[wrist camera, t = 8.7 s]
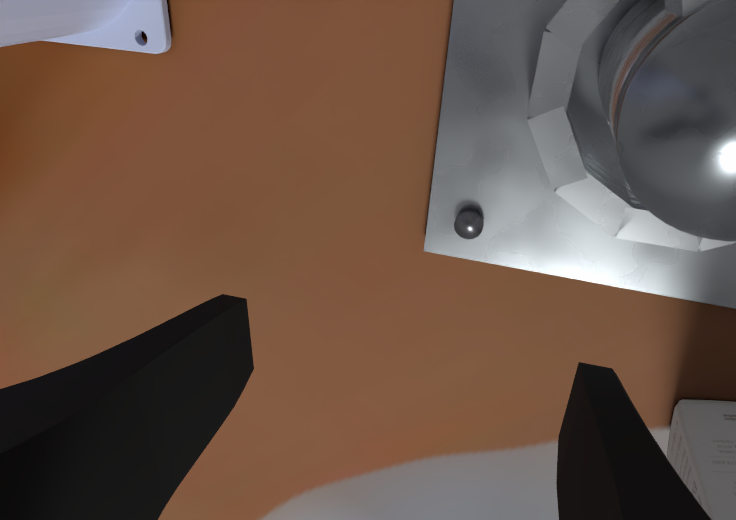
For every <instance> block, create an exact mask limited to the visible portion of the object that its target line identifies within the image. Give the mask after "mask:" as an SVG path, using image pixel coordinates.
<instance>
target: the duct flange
mask: <svg viewBox="0 0 736 520" xmlns="http://www.w3.org/2000/svg"><path fill="white" fill-rule="evenodd" d="M639 1H640V0H454V4H453V12H452V21H451V29H450V37H449V46H448V54H447V62H446V71H445V79H444V87H443V96H442V104H441V112H440V121H439V129H438V137H437V146H436V154H435V163H434V171H433V179H432V188H431V196H430V204H429V213H428V221H427V229H426V238H425V246H424V251H427V252H432V253H437V254H443V255H448V256H454V257H459V258H464V259H470V260H475V261H481V262H486V263H491V264H497V265H502V266H508V267H513V268H518V269H524V270H529V271H535V272H540V273H545V274H551V275H556V276H562V277H567V278H572V279H578V280H583V281H589V282H594V283H599V284H605V285H610V286H616V287H621V288H626V289H632V290H637V291H643V292H648V293H653V294H659V295H664V296H670V297H675V298H680V299H686V300H691V301H696V302H702V303H707V304H713V305H718V306H723V307H729V308H734V309H736V241H720V240H711V239H707V238H702V237H698V236H694V235H691V234H688V233H685V232H682V231H680V230H678V229H676V228H674V227H672V226H670V225H668V224H666V223H664V222H663V221H661V220H660V219H658V218H657V217H655V216H654V215H653V214H652V213H651V212H649V211H648V210H647V209H646V208H645V207H644V206H643V205H642V204H641V203H640V201H639V200H638V199H637V198H636V196H635V195H634V194H633V192H632V190H631V189H630V187H629V185H628V184H627V182H626V179H625V177H624V174H623V171H622V169H621V166H620V163H619V160H618V157H617V153H616V148H615V144H614V138H613V135H612V132H611V129H610V127H609V124H608V121H607V118H606V115H605V112H604V109H603V107H602V104H601V100H600V96H599V90H598V71H599V66H600V60H601V57H602V54H603V51H604V48H605V46H606V44H607V41H608V39H609V37H610V35H611V34H612V32H613V31H614V29H615V27H616V26H617V24H618V23H619V22H620V21H621V19H622V18H623V17H624V16H625V14H626V13H627V12H628V11H629V10H630V9H631V8H632V7H633V6H634V5H635V4H637V3H638V2H639Z"/></svg>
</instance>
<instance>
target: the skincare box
mask: <svg viewBox="0 0 736 520" xmlns="http://www.w3.org/2000/svg"><path fill="white" fill-rule="evenodd" d="M667 459H668V461H669V462H670V464H671V465H672V467H673V468H674V469H675V471H676V472H677V474H678V475H679V477H680V478H681V479H682V481H683V482H684V484H685V485H686V486H687V488H688V489H689V490H690V492H691V493H692V494H693V496H694V497H695V499H696V500H697V501H698V503H699V504H700V505H701V507H702V508H703V509H704V511H705V512H706V513H707V514H708V516H709V517H710V518H711V520H736V402H729V401H715V400H684V399H683V400H679V402H678V404H677V405H676V406H675V408H674V413H673V417H672V423H671V429H670V435H669V442H668V451H667Z"/></svg>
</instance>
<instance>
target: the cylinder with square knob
mask: <svg viewBox="0 0 736 520" xmlns="http://www.w3.org/2000/svg"><path fill="white" fill-rule="evenodd" d="M598 90H599V96H600V100H601V104H602V107H603V109H604V112H605V115H606V118H607V121H608V124H609V127H610V129H611V132H612V135H613V138H614V144H615V148H616V153H617V157H618V160H619V163H620V166H621V169H622V171H623V174H624V177H625V179H626V182H627V184H628V185H629V187H630V189H631V190H632V192H633V194H634V195H635V196H636V198H637V199H638V200H639V201H640V203H641V204H642V205H643V206H644V207H645V208H646V209H647V210H648V211H649V212H651V213H652V214H653V215H654V216H655V217H657V218H658V219H660V220H661V221H663V222H664V223H666V224H668V225H670V226H672V227H674V228H676V229H678V230H680V231H682V232H685V233H688V234H691V235H694V236H698V237H702V238H707V239H711V240H720V241H736V0H640V1H639V2H638V3H637V4H635V5H634V6H633V7H632V8H631V9H630V10H629V11H628V12H627V13H626V14H625V16H624V17H623V18H622V19H621V21H620V22H619V23H618V24H617V26H616V27H615V29H614V31H613V32H612V34H611V35H610V37H609V39H608V41H607V44H606V46H605V48H604V51H603V54H602V57H601V60H600V66H599V71H598Z"/></svg>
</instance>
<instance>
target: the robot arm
mask: <svg viewBox="0 0 736 520" xmlns="http://www.w3.org/2000/svg"><path fill="white" fill-rule="evenodd" d="M142 31H144V33H145V34H146V36H147V38H148V39H147V43H145V42H144V40H143V39H142ZM39 40H43V41H51V42H60V43H68V44H77V45H86V46H94V47H103V48H111V49H120V50H128V51H137V52H145V53H154V54H158V53H163V52H166V51H167V50H169V48H170V46H171V33H170V24H169V16H168V8H167V0H0V47H2V46H8V45H14V44H21V43H27V42H33V41H39ZM253 369H254V366H253V356H252V347H251V337H250V328H249V318H248V309H247V300H246V299H245V298H239V297H234V296H229V295H224V294H222V295H220V296H217V297H215V298H213V299H211V300H208V301H206V302H204V303H202V304H200V305H198V306H196V307H194V308H192V309H190V310H188V311H186V312H184V313H182V314H180V315H178V316H176V317H174V318H172V319H170V320H168V321H166V322H164V323H162V324H160V325H158V326H156V327H154V328H152V329H150V330H148V331H146V332H144V333H142V334H140V335H138V336H136V337H134V338H132V339H130V340H127V341H125V342H123V343H121V344H119V345H116V346H114V347H112V348H110V349H108V350H105V351H103V352H101V353H99V354H97V355H94V356H92V357H90V358H87V359H85V360H83V361H80V362H78V363H75V364H73V365H70V366H68V367H65V368H62V369H59V370H57V371H54V372H51V373H49V374H46V375H43V376H40V377H38V378H35V379H32V380H29V381H25V382H22V383H19V384H16V385H12V386H9V387H6V388H3V389H0V520H158V518H159V516H160V515H161V513H162V511H163V509H164V507H165V506H166V504H167V503H168V501H169V500H170V498H171V496H172V495H173V493H174V492H175V490H176V489H177V487H178V486H179V484H180V483H181V482H182V480H183V479H184V477H185V476H186V475H187V473H188V472H189V470H190V469H191V467H192V466H193V465H194V463H195V462H196V460H197V459H198V458H199V456H200V455H201V453H202V452H203V451H204V449H205V448H206V446H207V445H208V444H209V442H210V441H211V439H212V438H213V437H214V435H215V434H216V432H217V431H218V429H219V428H220V427H221V425H222V424H223V422H224V421H225V419H226V418H227V416H228V415H229V414H230V412H231V411H232V409H233V408H234V406H235V404H236V402H237V401H238V399H239V397H240V395H241V393H242V391H243V390H244V388H245V386H246V383H247V381H248V379H249V377H250V375H251V373H252V371H253ZM557 497H558V511H559V520H711V518H710V517H709V516H708V514H707V513H706V512H705V511H704V509H703V508H702V507H701V505H700V504H699V503H698V501H697V500H696V499H695V497H694V496H693V494H692V493H691V492H690V490H689V489H688V488H687V486H686V485H685V484H684V482H683V481H682V479H681V478H680V477H679V475H678V474H677V472H676V471H675V469H674V468H673V467H672V465H671V464H670V462H669V461H668V459H667V458H666V456H665V455H664V453H663V452H662V450H661V449H660V447H659V445H658V444H657V442H656V441H655V439H654V438H653V436H652V435H651V433H650V431H649V430H648V428H647V427H646V425H645V423H644V422H643V420H642V418H641V417H640V415H639V413H638V412H637V410H636V408H635V407H634V405H633V403H632V401H631V400H630V398H629V396H628V394H627V393H626V391H625V389H624V387H623V385H622V384H621V382H620V380H619V378H618V376H617V375H616V373H615V372H614V371H613V369H612V368H606V367H601V366H596V365H591V364H585V363H580V362H579V364H578V367H577V371H576V375H575V378H574V382H573V386H572V390H571V393H570V397H569V401H568V404H567V408H566V412H565V415H564V419H563V423H562V426H561V430H560V434H559V440H558V462H557Z"/></svg>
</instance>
